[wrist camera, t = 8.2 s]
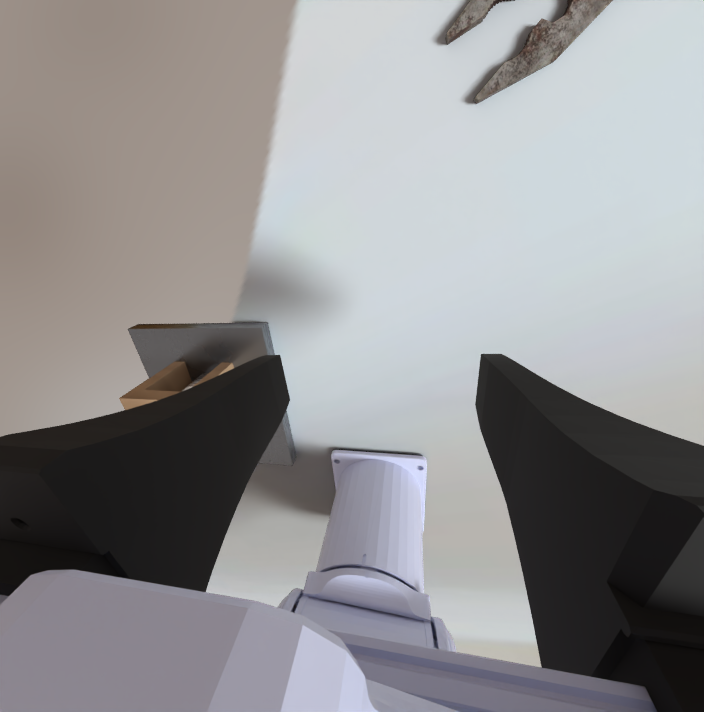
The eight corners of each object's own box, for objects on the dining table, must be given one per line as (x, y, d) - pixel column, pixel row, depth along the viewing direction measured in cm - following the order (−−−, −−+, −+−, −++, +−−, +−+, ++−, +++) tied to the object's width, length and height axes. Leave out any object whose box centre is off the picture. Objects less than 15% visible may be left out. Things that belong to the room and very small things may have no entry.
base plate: (296, 457, 27) (281, 489, 24) (190, 448, 29) (164, 477, 26) (267, 322, 21) (243, 342, 18) (138, 324, 23) (97, 342, 20)
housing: (253, 435, 25) (220, 483, 21) (201, 431, 26) (159, 477, 22) (232, 362, 22) (188, 401, 18) (174, 361, 23) (119, 398, 19)
